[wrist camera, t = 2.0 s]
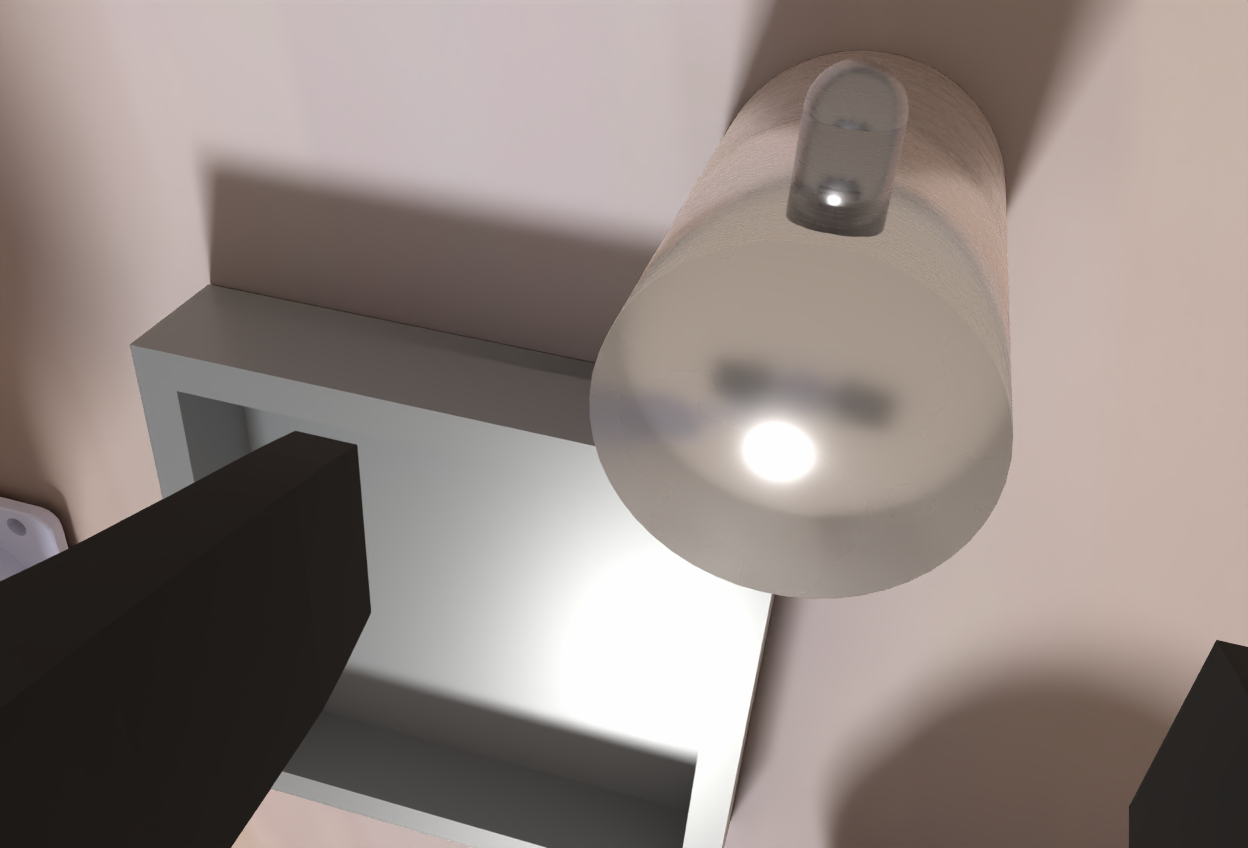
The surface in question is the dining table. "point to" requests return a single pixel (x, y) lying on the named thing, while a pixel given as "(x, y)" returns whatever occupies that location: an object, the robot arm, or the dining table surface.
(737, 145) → the handled mug
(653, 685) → the parts tray
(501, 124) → the dining table surface
